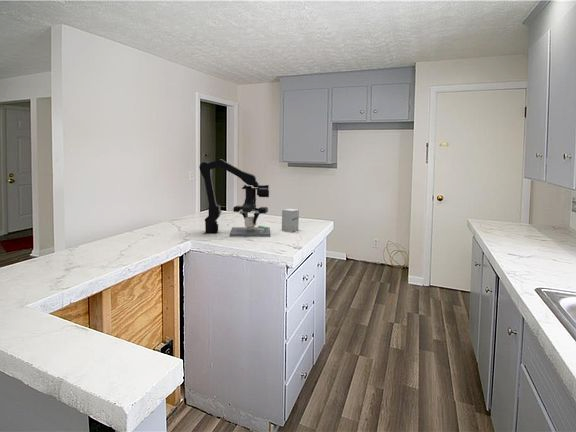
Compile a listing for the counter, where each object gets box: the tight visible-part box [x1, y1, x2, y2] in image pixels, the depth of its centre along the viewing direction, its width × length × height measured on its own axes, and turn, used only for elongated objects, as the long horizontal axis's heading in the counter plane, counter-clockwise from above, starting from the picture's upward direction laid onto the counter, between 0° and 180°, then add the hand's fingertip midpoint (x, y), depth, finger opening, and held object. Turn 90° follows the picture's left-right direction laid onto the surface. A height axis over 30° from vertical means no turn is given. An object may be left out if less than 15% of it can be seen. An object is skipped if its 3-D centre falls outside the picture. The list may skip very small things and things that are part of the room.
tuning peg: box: [244, 215, 264, 231], centre depth 205 cm, size 12×6×8 cm, turn 52°
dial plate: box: [229, 225, 271, 238], centre depth 208 cm, size 22×17×3 cm
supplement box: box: [281, 208, 300, 233], centre depth 216 cm, size 7×7×13 cm
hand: (250, 224), depth 207 cm, fingers closed on tuning peg, 4 cm apart
